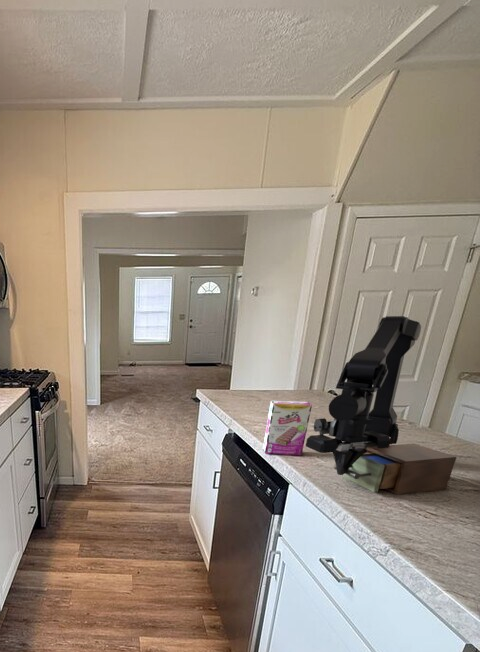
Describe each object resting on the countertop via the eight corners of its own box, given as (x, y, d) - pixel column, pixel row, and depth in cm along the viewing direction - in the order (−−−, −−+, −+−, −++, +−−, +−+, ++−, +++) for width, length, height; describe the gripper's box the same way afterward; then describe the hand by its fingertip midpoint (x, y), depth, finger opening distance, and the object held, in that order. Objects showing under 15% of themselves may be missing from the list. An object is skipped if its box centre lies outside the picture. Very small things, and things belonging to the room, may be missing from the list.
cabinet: (395, 494, 98) (405, 461, 95) (359, 477, 109) (366, 447, 106) (445, 489, 101) (457, 456, 97) (405, 472, 111) (413, 443, 108)
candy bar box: (265, 454, 128) (272, 403, 121) (262, 449, 132) (269, 400, 126) (302, 456, 125) (312, 404, 119) (298, 451, 130) (308, 400, 124)
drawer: (356, 493, 97) (363, 467, 94) (326, 478, 106) (331, 453, 104) (420, 487, 100) (428, 461, 97) (385, 472, 109) (392, 448, 107)
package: (356, 474, 106) (360, 456, 104) (371, 473, 106) (375, 455, 104) (377, 484, 99) (383, 465, 97) (393, 482, 100) (399, 464, 98)
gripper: (362, 404, 103) (348, 461, 109) (297, 408, 100) (286, 466, 106) (400, 413, 93) (382, 476, 99) (328, 418, 90) (315, 482, 96)
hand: (340, 474), depth 100 cm, fingers closed
